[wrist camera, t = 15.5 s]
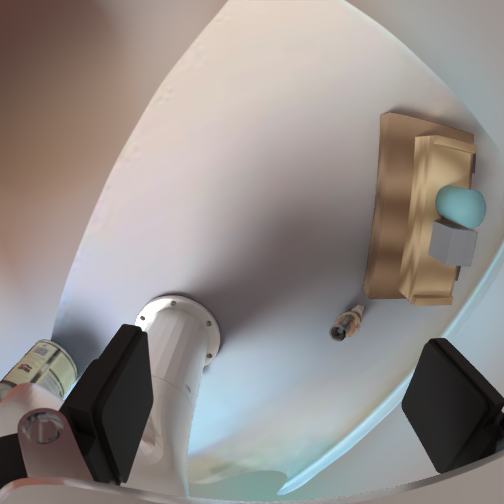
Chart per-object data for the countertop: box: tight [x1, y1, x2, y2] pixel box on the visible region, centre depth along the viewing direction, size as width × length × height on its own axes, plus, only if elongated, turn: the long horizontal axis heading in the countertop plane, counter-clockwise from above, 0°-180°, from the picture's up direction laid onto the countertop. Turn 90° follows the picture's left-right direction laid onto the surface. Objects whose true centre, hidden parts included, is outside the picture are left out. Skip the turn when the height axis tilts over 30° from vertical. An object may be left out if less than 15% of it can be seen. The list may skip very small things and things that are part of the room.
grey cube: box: [428, 221, 477, 266], centre depth 30 cm, size 4×4×4 cm
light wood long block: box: [397, 135, 476, 306], centre depth 33 cm, size 20×6×6 cm, turn 178°
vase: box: [329, 301, 366, 341], centre depth 40 cm, size 5×5×6 cm
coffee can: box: [0, 339, 77, 403], centre depth 40 cm, size 10×10×14 cm
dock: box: [363, 112, 476, 299], centre depth 37 cm, size 24×15×3 cm, turn 177°
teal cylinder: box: [435, 185, 486, 228], centre depth 28 cm, size 4×4×5 cm
